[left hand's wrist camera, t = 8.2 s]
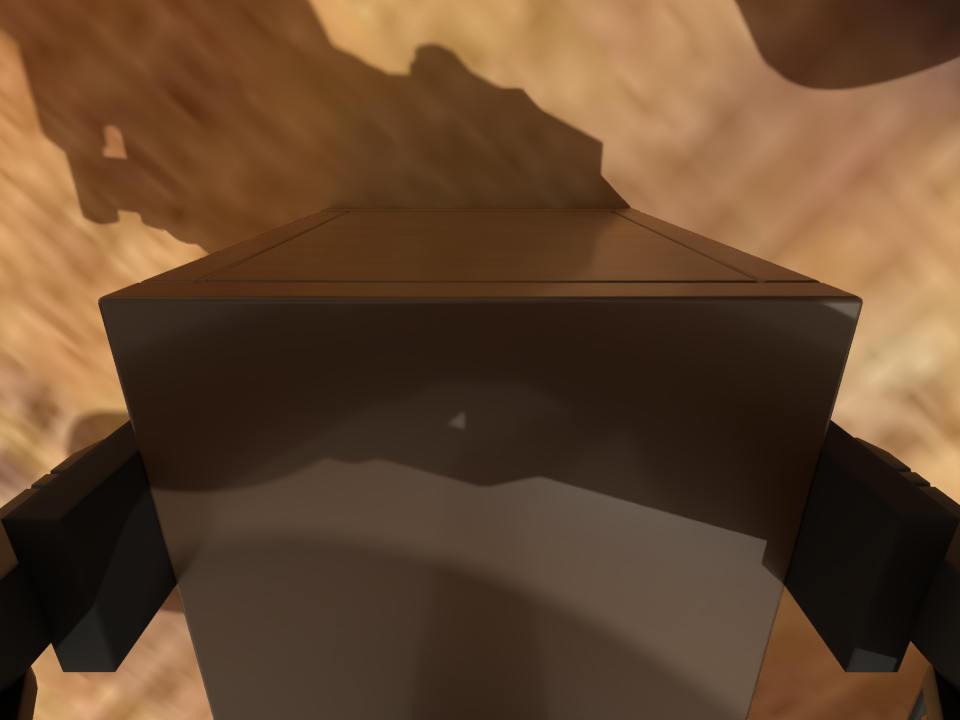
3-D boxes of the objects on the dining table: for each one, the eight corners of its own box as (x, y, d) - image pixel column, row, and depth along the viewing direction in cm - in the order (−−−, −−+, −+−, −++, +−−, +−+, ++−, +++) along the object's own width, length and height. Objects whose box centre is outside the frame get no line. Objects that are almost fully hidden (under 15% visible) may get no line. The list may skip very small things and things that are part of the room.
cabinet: (586, 655, 26) (664, 1023, 15) (373, 655, 26) (296, 1023, 15) (633, 208, 18) (868, 297, 7) (327, 207, 18) (92, 297, 7)
